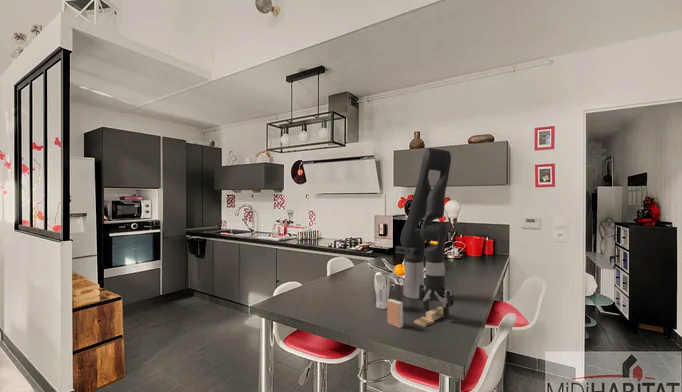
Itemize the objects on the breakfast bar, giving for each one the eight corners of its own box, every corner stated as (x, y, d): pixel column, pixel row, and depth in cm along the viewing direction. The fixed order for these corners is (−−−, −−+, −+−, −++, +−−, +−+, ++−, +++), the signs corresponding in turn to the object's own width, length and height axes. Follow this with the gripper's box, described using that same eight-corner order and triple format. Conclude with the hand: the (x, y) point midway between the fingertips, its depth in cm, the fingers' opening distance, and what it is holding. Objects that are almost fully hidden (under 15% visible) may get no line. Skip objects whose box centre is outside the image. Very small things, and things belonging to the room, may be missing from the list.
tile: (387, 323, 120) (386, 300, 120) (391, 321, 121) (390, 298, 121) (399, 328, 115) (398, 303, 115) (403, 326, 117) (402, 302, 117)
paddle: (437, 313, 130) (437, 305, 130) (448, 316, 126) (448, 308, 126) (414, 323, 120) (414, 315, 120) (425, 327, 116) (425, 318, 116)
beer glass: (372, 308, 136) (372, 274, 137) (376, 303, 143) (376, 271, 143) (388, 310, 134) (388, 275, 134) (391, 305, 140) (391, 272, 141)
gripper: (414, 271, 128) (415, 311, 127) (445, 277, 117) (447, 320, 116) (425, 268, 132) (426, 306, 132) (456, 274, 122) (457, 315, 121)
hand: (436, 313), depth 124 cm, fingers open, 8 cm apart
